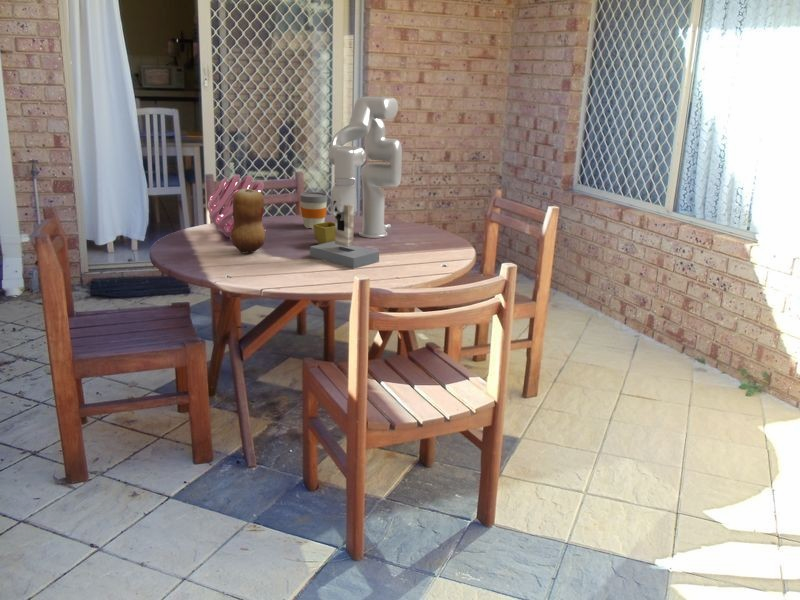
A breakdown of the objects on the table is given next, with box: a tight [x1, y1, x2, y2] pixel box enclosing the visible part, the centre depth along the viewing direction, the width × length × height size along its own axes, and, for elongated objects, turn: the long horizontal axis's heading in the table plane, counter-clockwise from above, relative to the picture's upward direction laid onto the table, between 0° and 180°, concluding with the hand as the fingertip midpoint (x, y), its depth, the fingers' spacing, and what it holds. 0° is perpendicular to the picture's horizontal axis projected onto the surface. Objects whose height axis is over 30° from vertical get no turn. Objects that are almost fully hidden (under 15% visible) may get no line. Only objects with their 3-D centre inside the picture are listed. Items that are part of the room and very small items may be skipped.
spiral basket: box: [207, 173, 267, 238], centre depth 314 cm, size 28×28×27 cm
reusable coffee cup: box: [299, 191, 328, 230], centre depth 337 cm, size 13×12×15 cm
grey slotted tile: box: [309, 241, 380, 269], centre depth 287 cm, size 14×24×4 cm, turn 49°
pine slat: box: [334, 204, 355, 247], centre depth 283 cm, size 3×7×16 cm, turn 49°
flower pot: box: [313, 221, 335, 245], centre depth 305 cm, size 9×9×9 cm
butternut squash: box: [229, 188, 266, 253], centre depth 290 cm, size 14×13×25 cm
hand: (344, 229), depth 283 cm, fingers closed on pine slat, 3 cm apart
